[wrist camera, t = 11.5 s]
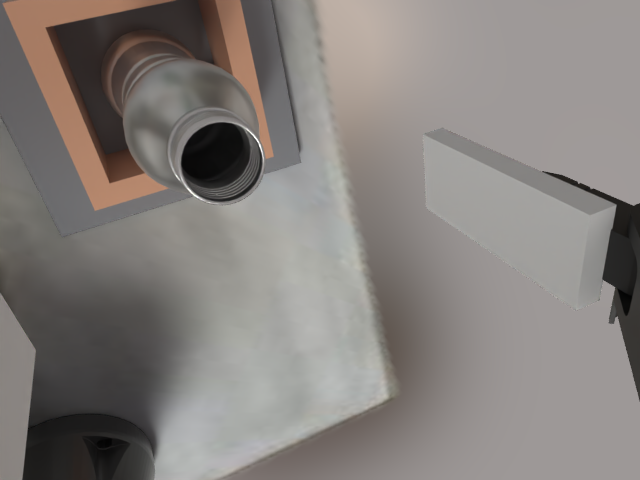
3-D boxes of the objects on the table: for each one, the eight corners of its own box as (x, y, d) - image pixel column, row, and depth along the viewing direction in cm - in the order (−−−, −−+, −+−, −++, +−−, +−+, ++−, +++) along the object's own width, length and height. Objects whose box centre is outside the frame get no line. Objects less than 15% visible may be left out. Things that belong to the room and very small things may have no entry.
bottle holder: (297, 159, 45) (328, 187, 39) (62, 231, 40) (59, 276, 34) (245, -114, 34) (278, -129, 29) (-85, -62, 29) (-124, -68, 23)
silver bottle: (145, 3, 34) (225, 37, 18) (213, 81, 38) (327, 164, 22) (75, 70, 34) (94, 161, 18) (151, 140, 38) (220, 266, 22)
